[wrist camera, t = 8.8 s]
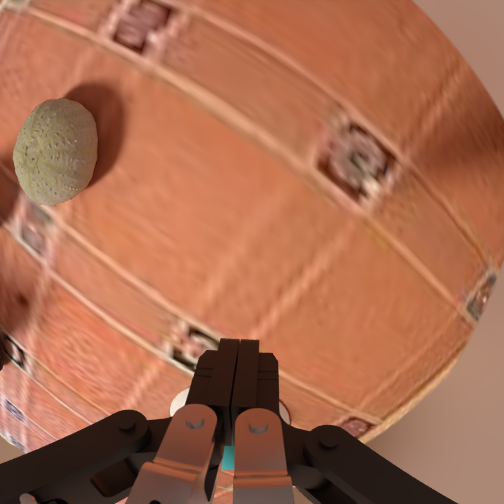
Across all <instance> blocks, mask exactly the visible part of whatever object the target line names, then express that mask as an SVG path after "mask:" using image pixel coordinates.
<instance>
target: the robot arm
mask: <svg viewBox="0 0 504 504" xmlns="http://www.w3.org/2000/svg"><path fill="white" fill-rule="evenodd" d="M232 440H233V445H234V446H235V458H234V478H233V504H295V502H294V494H293V486H296V488H297V489H298V490H299V491H300V492H301V493H302V494H303V495H304V496H305V497H306V498H307V499H308V500H310V501H311V502H312V503H313V504H457V503H456V502H454V501H452V500H451V499H449V498H447V497H445V496H444V495H442V494H440V493H438V492H437V491H435V490H433V489H432V488H430V487H428V486H427V485H425V484H423V483H422V482H420V481H419V480H417V479H415V478H414V477H412V476H410V475H409V474H408V473H406V472H404V471H403V470H401V469H400V468H398V467H397V466H395V465H393V464H392V463H391V462H389V461H388V460H386V459H385V458H383V457H382V456H380V455H379V454H377V453H376V452H375V451H373V450H372V449H370V448H369V447H367V446H366V445H365V444H363V443H362V442H360V441H359V440H358V439H356V438H355V437H353V436H352V435H351V434H349V433H348V432H347V431H345V430H344V429H342V428H340V427H338V426H334V425H322V426H318V427H316V428H314V429H313V430H311V431H306V430H302V429H298V428H295V427H293V426H290V425H289V424H287V423H286V422H285V421H284V420H283V419H282V417H281V415H280V411H279V374H278V361H277V359H276V358H275V356H274V355H273V353H259V340H248V339H241V341H240V339H225V338H221V339H220V343H219V347H218V351H215V350H206V351H205V352H204V353H203V354H202V355H201V356H200V357H199V360H198V363H197V366H196V369H195V373H194V377H193V379H192V382H191V386H190V389H189V392H188V396H187V399H186V402H185V405H184V406H183V407H181V408H179V409H178V410H177V411H176V412H175V414H174V415H173V416H172V417H169V418H165V419H156V420H147V419H146V417H145V416H144V415H143V414H141V413H140V412H138V411H135V410H122V411H118V412H116V413H114V414H112V415H110V416H108V417H106V418H104V419H102V420H100V421H98V422H96V423H94V424H92V425H90V426H88V427H86V428H84V429H82V430H79V431H77V432H75V433H73V434H71V435H69V436H66V437H64V438H62V439H60V440H58V441H55V442H53V443H51V444H49V445H46V446H44V447H42V448H39V449H37V450H34V451H32V452H30V453H27V454H25V455H22V456H20V457H17V458H15V459H12V460H9V461H7V462H4V463H1V464H0V504H115V503H117V502H119V501H121V500H122V499H124V498H126V497H128V498H127V501H126V503H125V504H212V503H213V499H214V495H215V491H216V487H217V483H218V479H219V475H220V471H221V467H222V459H223V454H224V447H225V446H232ZM292 485H293V486H292Z"/></svg>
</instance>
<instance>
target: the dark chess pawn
mask: <svg viewBox="0 0 504 504" xmlns="http://www.w3.org/2000/svg"><path fill="white" fill-rule="evenodd" d="M2 368H3V357H2V353H1V350H0V371H1V370H2Z"/></svg>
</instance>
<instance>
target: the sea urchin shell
mask: <svg viewBox="0 0 504 504" xmlns="http://www.w3.org/2000/svg"><path fill="white" fill-rule="evenodd" d="M97 145H98V137H97V130H96V122H95V120H94V118H93V115H92V113H90V112H89V111H88V110H87V109H86V108H85V107H83V106H82V104H80V103H79V102H76V101H72V100H68V99H64V98H59V99H51V100H47V101H45V102H43V103H42V104H40V105H38V106H37V107H36V108H35V109H34V110H33V112H32V113H31V114H30V115H29V116H28V118H26V121H25V123H24V125H23V127H22V129H21V130H20V133H19V134H18V137H17V141H16V144H15V147H14V149H13V151H14V152H13V161H14V165H15V172H16V175H17V177H18V180H19V183H20V185H21V187H22V189H23V190H24V192H25V193H26V195H27V197H28V198H29V199H31V200H32V201H34V202H35V203H38V204H39V205H40V204H42V205H55V206H56V205H57V204H59V203H62V202H64V201H68V200H70V199H72V198H73V197H74V198H75V196H76V195H78V194H79V193H80V192H81V191H82V190H83V189H84V188H86V187H87V185H88V183H89V182H90V180H91V178H92V176H93V171H94V167H95V164H96V161H97Z"/></svg>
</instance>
